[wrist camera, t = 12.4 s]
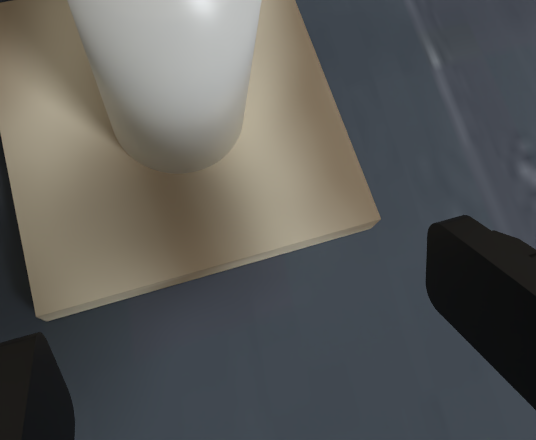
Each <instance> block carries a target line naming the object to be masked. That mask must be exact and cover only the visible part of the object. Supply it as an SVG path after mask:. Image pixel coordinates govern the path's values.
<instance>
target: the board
mask: <svg viewBox="0 0 536 440" xmlns="http://www.w3.org/2000/svg"><path fill="white" fill-rule="evenodd" d="M0 133H1V139H2V144H3V149H4V154H5V159H6V164H7V170H8V175H9V180H10V185H11V190H12V195H13V201H14V206H15V211H16V216H17V221H18V226H19V231H20V237H21V242H22V247H23V252H24V257H25V262H26V268H27V273H28V278H29V283H30V288H31V293H32V299H33V304H34V309H35V314H36V317H37V318H40V319H42V320H45V321H51V320H54V319H57V318H61V317H64V316H68V315H71V314H75V313H78V312H82V311H85V310H89V309H92V308H96V307H99V306H103V305H106V304H110V303H113V302H117V301H120V300H124V299H127V298H131V297H134V296H138V295H141V294H145V293H148V292H152V291H155V290H159V289H162V288H166V287H169V286H173V285H176V284H179V283H183V282H186V281H190V280H193V279H197V278H200V277H204V276H207V275H211V274H214V273H218V272H221V271H225V270H228V269H232V268H235V267H239V266H242V265H246V264H249V263H253V262H256V261H260V260H263V259H267V258H270V257H274V256H277V255H281V254H284V253H288V252H291V251H294V250H298V249H301V248H305V247H308V246H312V245H315V244H319V243H322V242H326V241H329V240H333V239H336V238H340V237H343V236H347V235H350V234H354V233H357V232H361V231H364V230H368V229H371V228H372V227H373V226H374V225H375V224H376V223H377V222H378V221H379V220H381V218H380V215H379V213H378V210H377V208H376V205H375V203H374V200H373V197H372V195H371V192H370V190H369V187H368V185H367V182H366V180H365V177H364V175H363V172H362V169H361V167H360V164H359V162H358V159H357V157H356V154H355V152H354V149H353V147H352V144H351V141H350V139H349V136H348V134H347V131H346V129H345V126H344V124H343V121H342V119H341V116H340V113H339V111H338V108H337V106H336V103H335V101H334V98H333V96H332V93H331V91H330V88H329V85H328V83H327V80H326V78H325V75H324V73H323V70H322V68H321V65H320V63H319V60H318V58H317V55H316V52H315V50H314V47H313V45H312V42H311V40H310V37H309V35H308V32H307V30H306V27H305V24H304V22H303V19H302V17H301V14H300V12H299V9H298V7H297V4H296V2H295V0H262V1H261V7H260V14H259V20H258V27H257V33H256V40H255V47H254V53H253V60H252V66H251V73H250V80H249V86H248V93H247V99H246V106H245V112H244V119H243V125H242V130H241V133H240V136H239V138H238V140H237V142H236V144H235V145H234V146H233V148H232V149H231V150H230V152H229V153H228V154H227V155H226V156H225V157H223V158H222V159H221V160H220V161H218V162H217V163H215V164H213V165H212V166H209V167H207V168H205V169H202V170H199V171H196V172H190V173H181V174H175V173H165V172H160V171H157V170H154V169H151V168H148V167H146V166H144V165H142V164H141V163H139V162H137V161H136V160H134V159H133V158H132V157H131V156H130V155H128V153H127V152H126V151H125V150H124V149H123V148H122V146H121V145H120V144H119V142H118V140H117V138H116V136H115V134H114V131H113V129H112V126H111V123H110V120H109V117H108V114H107V112H106V109H105V106H104V103H103V100H102V97H101V95H100V92H99V89H98V86H97V83H96V80H95V78H94V75H93V72H92V69H91V66H90V63H89V61H88V58H87V55H86V52H85V49H84V46H83V44H82V41H81V38H80V35H79V32H78V30H77V27H76V24H75V21H74V18H73V15H72V13H71V10H70V7H69V4H68V1H67V0H13V1H7V2H1V3H0Z"/></svg>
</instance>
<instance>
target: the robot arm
mask: <svg viewBox="0 0 536 440" xmlns="http://www.w3.org/2000/svg"><path fill="white" fill-rule="evenodd" d="M426 289H427V293H428V296H429V298H430V301H431V303H432V304H433V306H434V307H435V309H436V310H437V311H438V312H439V313H440V314H441V315H442V316H443V317H444V318H445V319H446V320H447V321H448V322H449V323H450V324H451V325H452V326H453V327H454V328H455V329H456V330H457V331H458V332H459V333H460V334H461V335H462V336H463V337H464V338H465V339H466V340H467V341H468V342H469V343H470V344H471V345H472V346H473V347H474V348H475V349H476V350H477V351H478V352H479V353H480V354H481V355H482V356H483V357H484V358H485V359H486V360H487V361H488V362H489V363H490V364H491V365H492V366H493V367H494V368H495V369H496V370H497V371H498V372H499V373H500V375H501V376H502V377H503V378H504V379H505V380H506V381H507V382H508V383H509V384H510V385H511V386H512V387H513V388H514V389H515V390H516V391H517V392H518V393H519V394H520V395H521V396H522V397H523V398H524V399H525V400H526V401H527V402H528V403H529V404H530V405H531V406H532V407H533V408H534V409H535V410H536V250H535V249H534V248H532V247H531V246H529V245H528V244H526V243H525V242H523V241H521V240H520V239H517V238H515V237H512V236H509V235H506V234H503V233H500V232H497V231H491V230H489V229H488V228H486V227H485V226H483V225H482V224H480V223H479V222H478V221H476V220H475V219H473V218H472V217H470V216H467V215H462V216H459V217H455V218H451V219H448V220H444V221H441V222H437V223H434V224H432V225H431V226H430V227H429V229H428V235H427V262H426ZM74 435H75V417H74V410H73V404H72V400H71V396H70V393H69V391H68V388H67V386H66V383H65V381H64V379H63V376H62V374H61V372H60V370H59V367H58V365H57V363H56V360H55V358H54V356H53V353H52V351H51V349H50V346H49V344H48V342H47V340H46V338H45V336H44V335H43V334H42V333H41V332H38V333H34V334H31V335H27V336H24V337H20V338H16V339H13V340H9V341H6V342H2V343H0V440H74Z"/></svg>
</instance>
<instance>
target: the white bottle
mask: <svg viewBox="0 0 536 440" xmlns="http://www.w3.org/2000/svg"><path fill="white" fill-rule="evenodd" d="M67 1H68V4H69V7H70V10H71V13H72V15H73V18H74V21H75V24H76V27H77V30H78V32H79V35H80V38H81V41H82V44H83V46H84V49H85V52H86V55H87V58H88V61H89V63H90V66H91V69H92V72H93V75H94V78H95V80H96V83H97V86H98V89H99V92H100V95H101V97H102V100H103V103H104V106H105V109H106V112H107V114H108V117H109V120H110V123H111V126H112V129H113V131H114V134H115V136H116V138H117V140H118V142H119V144H120V145H121V146H122V148H123V149H124V150H125V151H126V152H127V153H128V155H130V156H131V157H132V158H133V159H134V160H136V161H137V162H139V163H141V164H142V165H144V166H146V167H148V168H151V169H154V170H157V171H160V172H165V173H175V174H181V173H190V172H196V171H199V170H202V169H205V168H207V167H209V166H212V165H213V164H215V163H217V162H218V161H220V160H221V159H222V158H223V157H225V156H226V155H227V154H228V153H229V152H230V150H231V149H232V148H233V146H234V145H235V144H236V142H237V140H238V138H239V136H240V133H241V130H242V125H243V119H244V112H245V106H246V99H247V93H248V86H249V80H250V73H251V66H252V60H253V53H254V47H255V40H256V33H257V27H258V20H259V14H260V7H261V1H262V0H67Z"/></svg>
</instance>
